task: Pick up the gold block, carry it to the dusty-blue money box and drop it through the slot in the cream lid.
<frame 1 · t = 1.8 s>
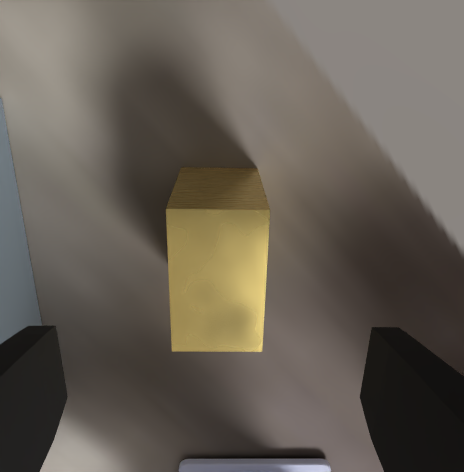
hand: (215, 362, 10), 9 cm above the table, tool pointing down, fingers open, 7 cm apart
gold block: (218, 226, 18), on the table
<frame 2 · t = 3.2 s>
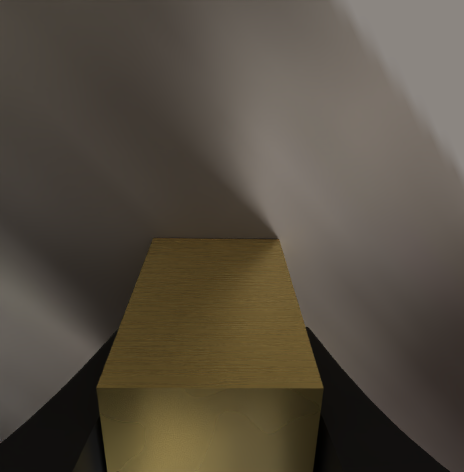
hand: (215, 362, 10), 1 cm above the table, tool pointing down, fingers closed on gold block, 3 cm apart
gold block: (215, 326, 11), on the table, touching gripper
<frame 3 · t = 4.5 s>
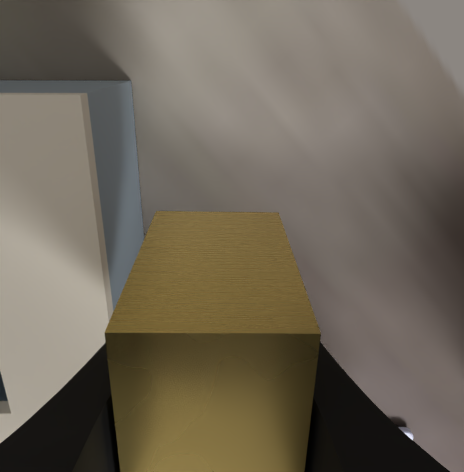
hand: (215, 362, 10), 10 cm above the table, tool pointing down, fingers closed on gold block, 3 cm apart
gold block: (216, 299, 12), point 8 cm above the table, touching gripper
money box: (11, 244, 19), on the table
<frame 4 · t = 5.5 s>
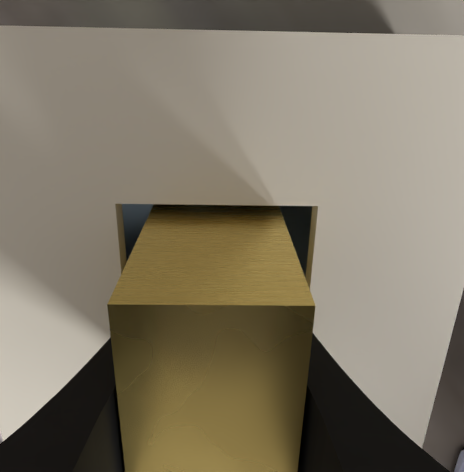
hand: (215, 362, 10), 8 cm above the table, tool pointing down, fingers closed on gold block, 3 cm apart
gold block: (216, 285, 12), point 5 cm above the table, touching gripper
money box: (219, 236, 17), on the table
when the fingers open (7 cm above the table, at t = 5.9 s): gold block drops 4 cm, resting on money box.
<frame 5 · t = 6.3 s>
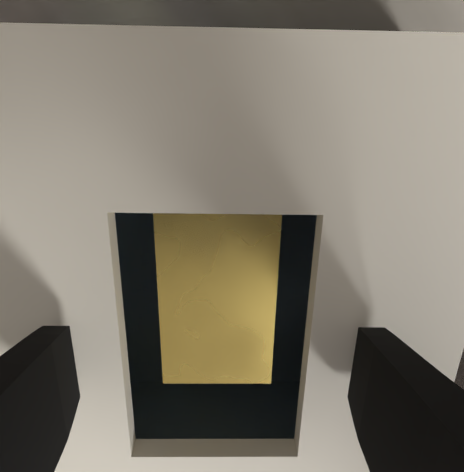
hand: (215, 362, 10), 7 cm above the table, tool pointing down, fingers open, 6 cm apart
gold block: (219, 231, 16), resting on money box
money box: (218, 242, 16), on the table
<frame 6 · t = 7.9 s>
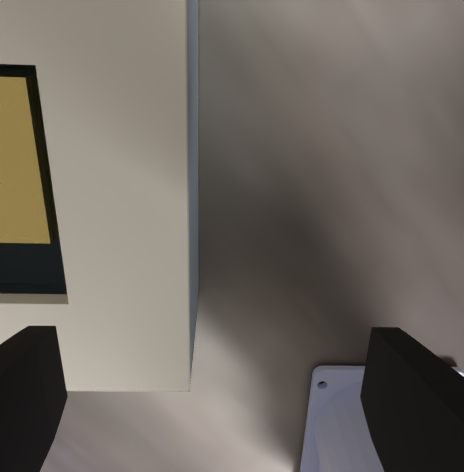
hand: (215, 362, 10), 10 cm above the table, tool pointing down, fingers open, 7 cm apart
gold block: (49, 135, 17), resting on money box
money box: (55, 148, 18), on the table
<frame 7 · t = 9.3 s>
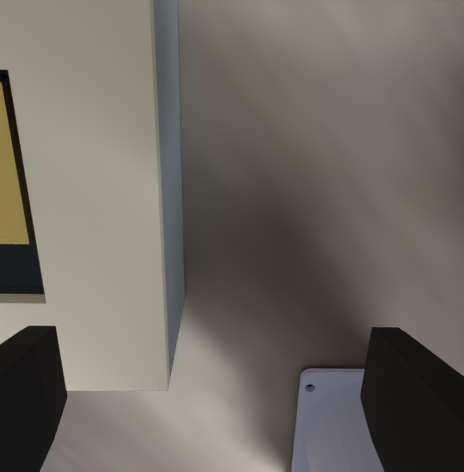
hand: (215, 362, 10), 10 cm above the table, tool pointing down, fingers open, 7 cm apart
gold block: (34, 140, 18), resting on money box
money box: (41, 153, 19), on the table
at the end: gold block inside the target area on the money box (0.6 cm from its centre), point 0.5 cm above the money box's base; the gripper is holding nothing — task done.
